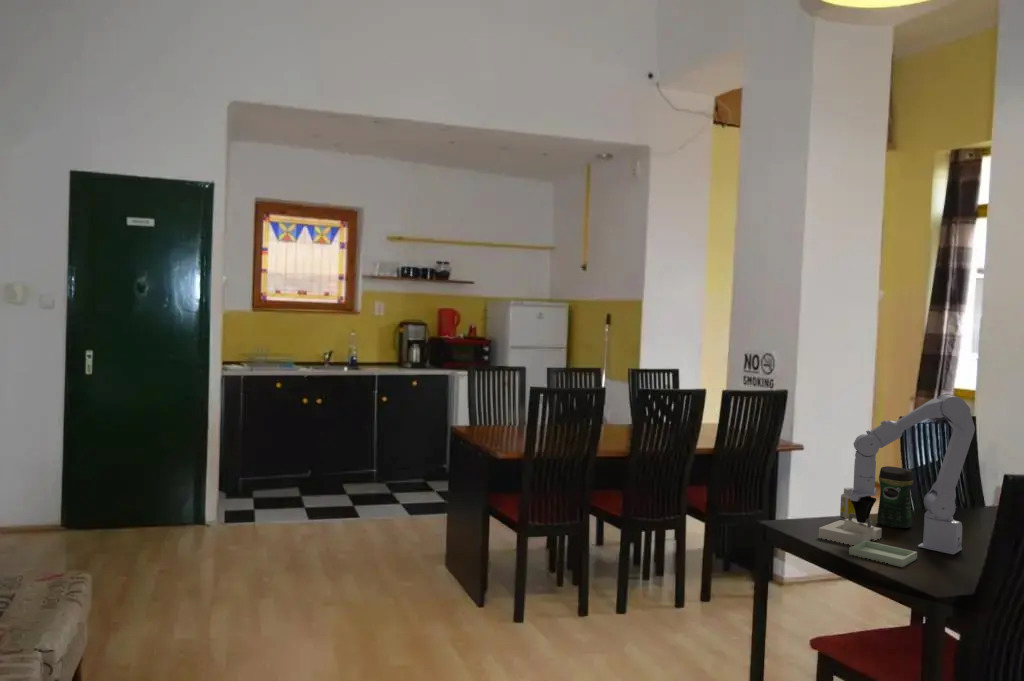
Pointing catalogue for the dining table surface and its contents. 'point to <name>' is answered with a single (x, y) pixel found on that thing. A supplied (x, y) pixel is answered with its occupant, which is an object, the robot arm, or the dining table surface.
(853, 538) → the bay
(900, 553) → the tray
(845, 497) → the supplement bottle
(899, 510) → the coffee jar
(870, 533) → the block with grey handle
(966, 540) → the dining table surface
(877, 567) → the dining table surface
